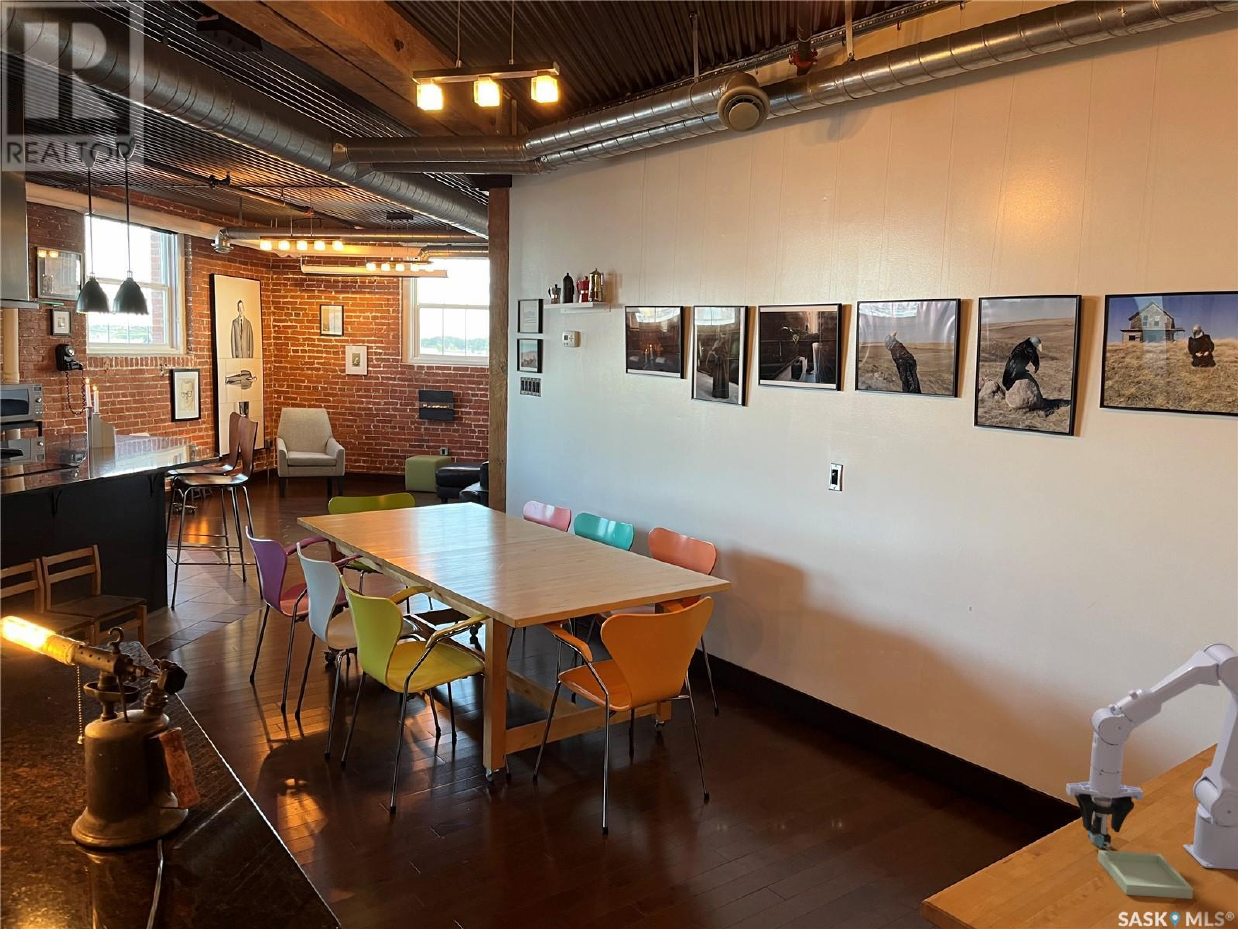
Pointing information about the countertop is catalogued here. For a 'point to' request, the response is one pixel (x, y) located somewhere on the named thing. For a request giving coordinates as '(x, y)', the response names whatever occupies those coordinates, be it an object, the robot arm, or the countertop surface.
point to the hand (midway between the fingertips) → (1101, 829)
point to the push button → (1101, 821)
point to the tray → (1144, 874)
